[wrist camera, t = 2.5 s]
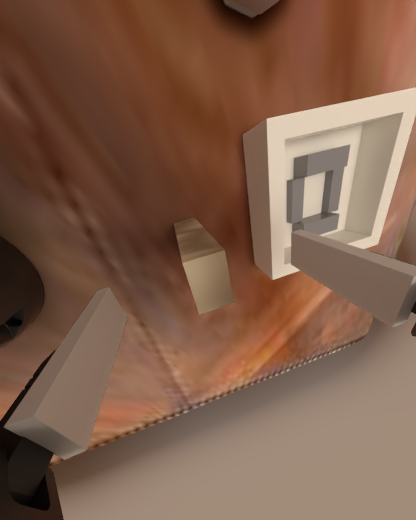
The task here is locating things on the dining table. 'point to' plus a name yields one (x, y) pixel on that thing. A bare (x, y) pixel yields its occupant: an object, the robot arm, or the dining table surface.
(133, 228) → the dining table surface
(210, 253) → the tapered beige beam
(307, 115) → the white square tray
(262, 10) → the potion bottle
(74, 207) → the dining table surface
